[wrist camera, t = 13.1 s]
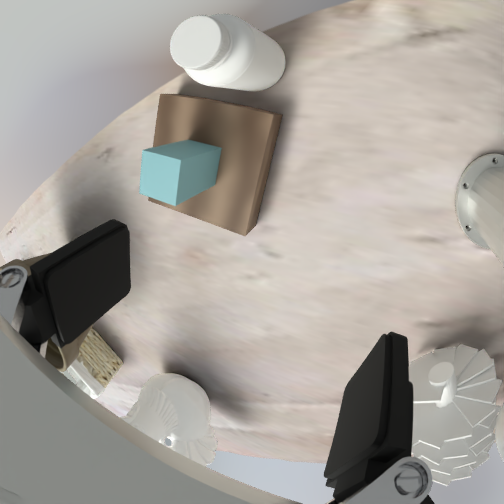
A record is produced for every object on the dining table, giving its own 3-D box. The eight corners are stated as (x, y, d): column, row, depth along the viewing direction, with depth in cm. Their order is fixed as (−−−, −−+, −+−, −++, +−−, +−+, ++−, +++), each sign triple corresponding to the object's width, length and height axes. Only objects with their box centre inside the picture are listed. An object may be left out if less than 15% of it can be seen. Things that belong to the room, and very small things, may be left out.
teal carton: (221, 147, 35) (180, 159, 28) (215, 185, 38) (175, 206, 30) (187, 139, 36) (142, 150, 29) (182, 175, 39) (139, 193, 31)
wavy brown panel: (282, 114, 35) (273, 114, 31) (255, 225, 43) (245, 236, 39) (177, 93, 38) (160, 93, 35) (163, 193, 46) (148, 200, 43)
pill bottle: (230, 36, 32) (162, 8, 19) (290, 37, 30) (243, -2, 17) (225, 90, 36) (153, 85, 23) (283, 95, 33) (233, 85, 21)
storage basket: (92, 322, 74) (57, 352, 62) (130, 365, 76) (99, 399, 64) (74, 341, 87) (46, 366, 75) (104, 376, 89) (79, 403, 77)
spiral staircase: (456, 314, 41) (471, 400, 44) (371, 373, 42) (404, 446, 46) (525, 363, 23) (514, 448, 26) (416, 450, 24) (435, 506, 28)
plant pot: (143, 279, 57) (66, 345, 39) (117, 333, 70) (63, 386, 52) (68, 203, 57) (-11, 243, 39) (57, 270, 70) (0, 309, 52)
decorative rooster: (148, 363, 71) (91, 429, 50) (188, 359, 63) (125, 442, 42) (201, 423, 77) (160, 487, 56) (243, 425, 69) (202, 501, 48)
